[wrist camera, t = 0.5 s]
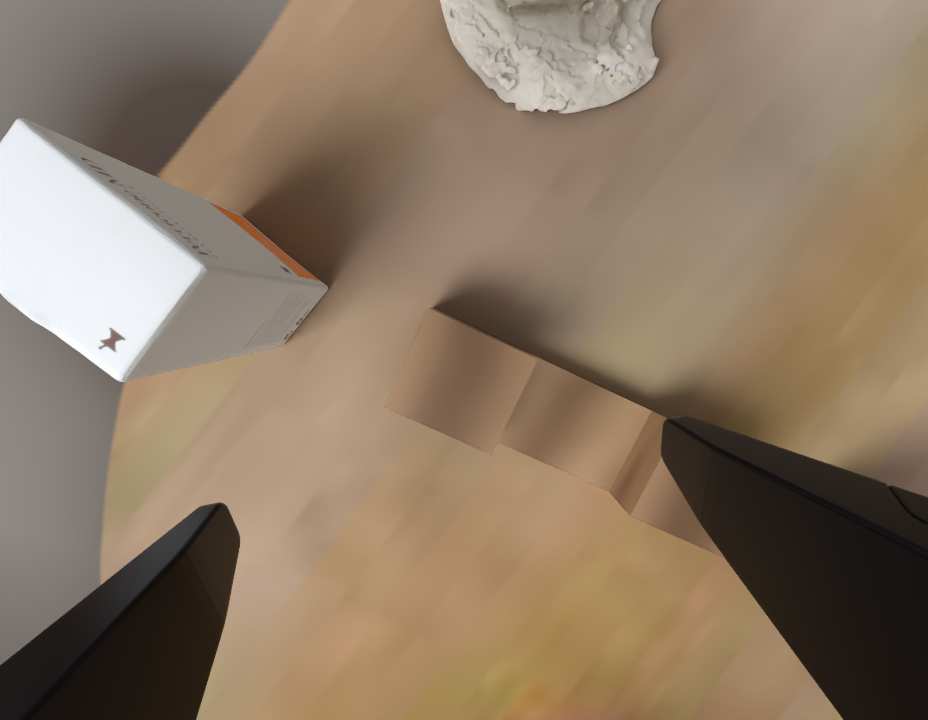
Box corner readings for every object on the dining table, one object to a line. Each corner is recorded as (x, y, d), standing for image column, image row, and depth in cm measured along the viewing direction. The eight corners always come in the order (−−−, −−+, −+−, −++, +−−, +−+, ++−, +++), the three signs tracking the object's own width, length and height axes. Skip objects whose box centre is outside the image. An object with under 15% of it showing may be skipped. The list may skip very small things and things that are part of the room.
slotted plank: (725, 444, 25) (776, 470, 21) (683, 519, 26) (726, 558, 22) (432, 307, 24) (429, 308, 20) (394, 390, 24) (384, 407, 20)
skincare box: (332, 286, 23) (214, 269, 12) (283, 347, 24) (118, 391, 12) (239, 209, 23) (12, 107, 11) (190, 273, 23) (-83, 241, 11)
